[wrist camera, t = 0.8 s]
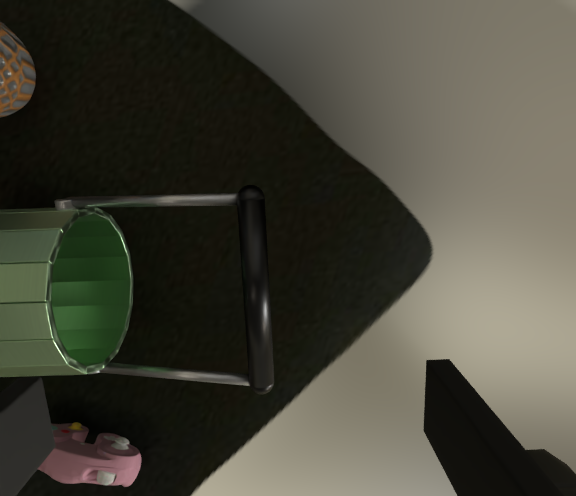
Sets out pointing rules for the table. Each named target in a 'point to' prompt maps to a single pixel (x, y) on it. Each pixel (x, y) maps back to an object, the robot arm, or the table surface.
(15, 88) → the vase
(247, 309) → the bucket
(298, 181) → the table surface
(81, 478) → the video game controller
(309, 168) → the table surface
